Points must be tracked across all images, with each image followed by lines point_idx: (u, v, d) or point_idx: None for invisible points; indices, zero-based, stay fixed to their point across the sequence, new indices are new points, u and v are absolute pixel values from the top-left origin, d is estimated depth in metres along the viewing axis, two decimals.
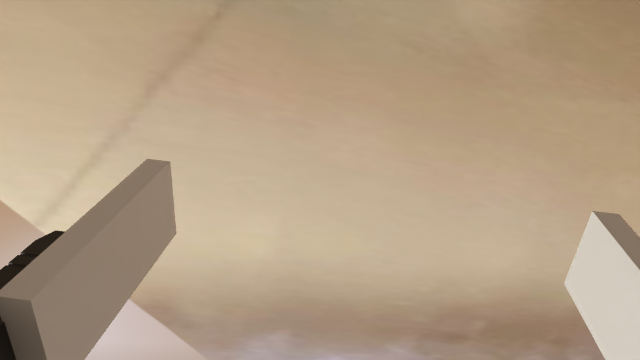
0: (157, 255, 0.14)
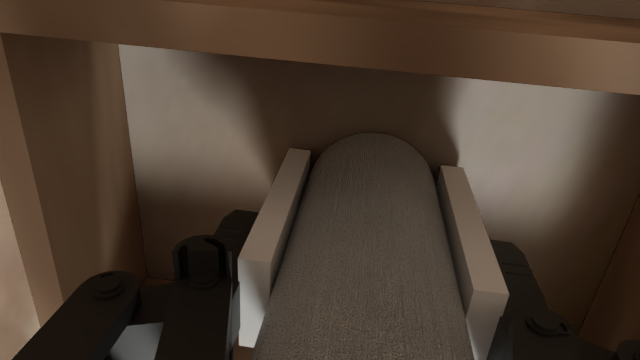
0: None
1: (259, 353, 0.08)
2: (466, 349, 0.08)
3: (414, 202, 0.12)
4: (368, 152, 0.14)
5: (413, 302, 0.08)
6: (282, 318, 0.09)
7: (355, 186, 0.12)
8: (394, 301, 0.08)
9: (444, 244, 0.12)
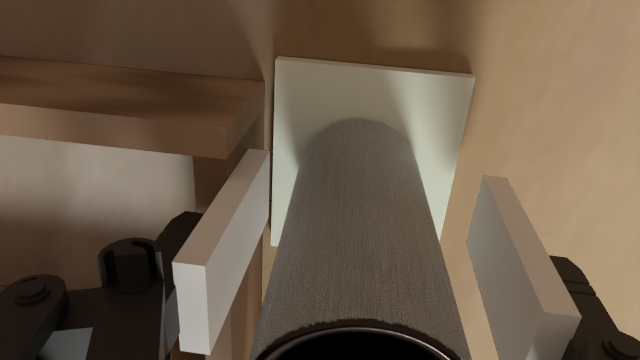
0: (259, 237, 0.16)
1: (269, 311, 0.09)
2: (451, 301, 0.10)
3: (400, 179, 0.13)
4: (356, 136, 0.15)
5: (404, 261, 0.09)
6: (288, 280, 0.10)
7: (346, 166, 0.13)
8: (387, 260, 0.09)
9: (428, 216, 0.13)
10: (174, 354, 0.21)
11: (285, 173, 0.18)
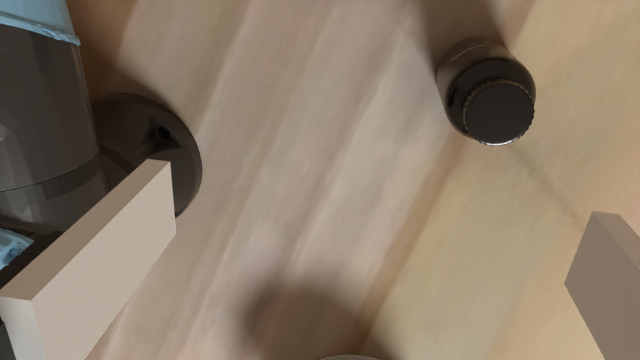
0: (157, 255, 0.14)
1: None
2: None
3: None
4: None
5: None
6: None
7: None
8: None
9: None
10: None
11: None
